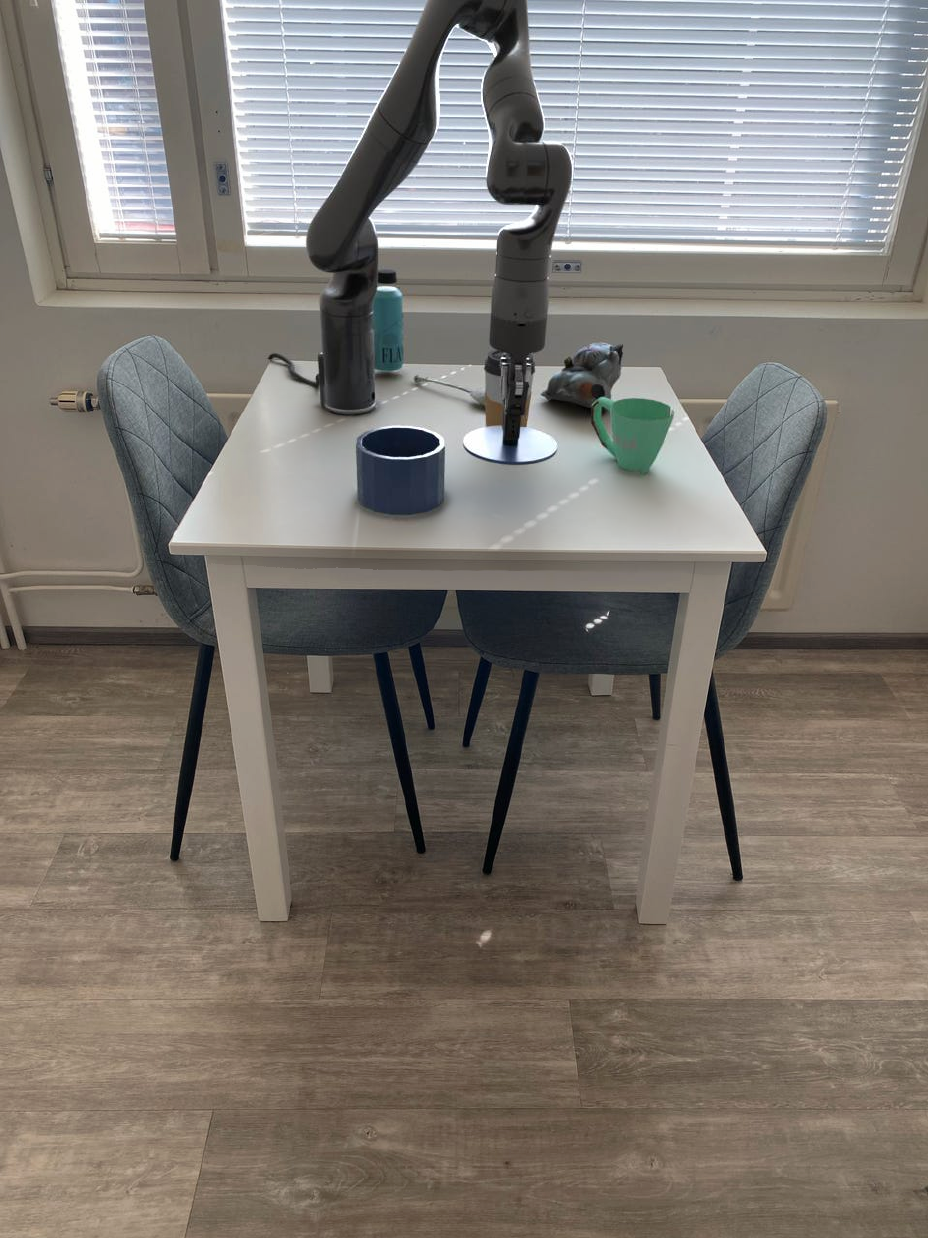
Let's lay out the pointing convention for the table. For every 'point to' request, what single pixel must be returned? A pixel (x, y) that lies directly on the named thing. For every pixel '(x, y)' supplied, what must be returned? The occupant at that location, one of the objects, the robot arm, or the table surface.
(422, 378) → the soupspoon
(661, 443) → the mug
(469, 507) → the table surface
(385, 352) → the beverage bottle
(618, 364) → the lucky cat figurine
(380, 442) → the tin
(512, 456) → the tin lid
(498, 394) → the coffee cup
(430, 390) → the table surface
